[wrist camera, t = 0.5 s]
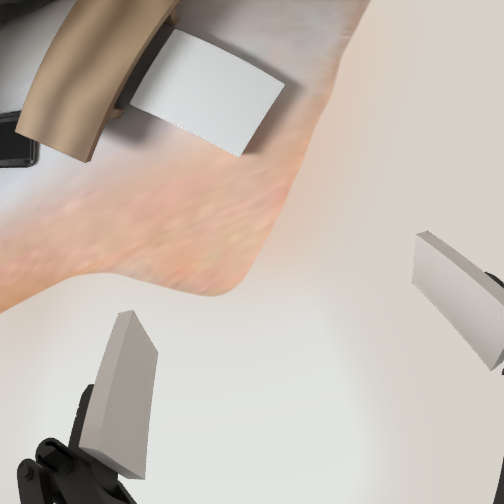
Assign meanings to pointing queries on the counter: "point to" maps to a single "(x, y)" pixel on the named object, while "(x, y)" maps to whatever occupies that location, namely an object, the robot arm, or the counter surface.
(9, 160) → the phone
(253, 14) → the counter surface
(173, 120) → the plastic case
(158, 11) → the low shelf
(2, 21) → the casserole
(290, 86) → the counter surface
